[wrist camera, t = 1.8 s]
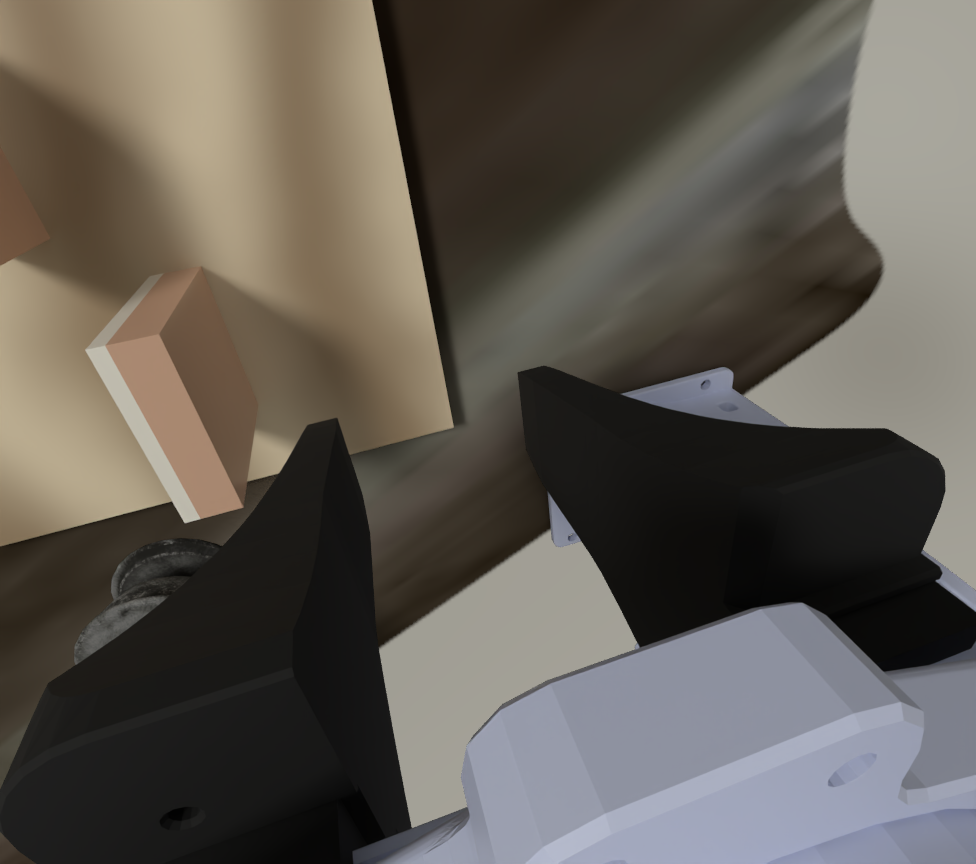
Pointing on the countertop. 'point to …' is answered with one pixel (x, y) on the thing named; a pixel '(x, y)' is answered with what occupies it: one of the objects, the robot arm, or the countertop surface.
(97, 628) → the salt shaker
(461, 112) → the countertop surface
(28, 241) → the tan piece
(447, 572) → the countertop surface
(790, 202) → the countertop surface
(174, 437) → the cream tile
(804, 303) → the countertop surface
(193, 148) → the maple board
